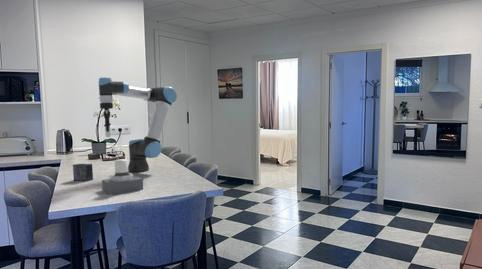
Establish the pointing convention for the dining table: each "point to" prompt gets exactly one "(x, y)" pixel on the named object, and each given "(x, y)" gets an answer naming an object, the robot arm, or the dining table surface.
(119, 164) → the white glossy rounded part
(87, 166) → the small box
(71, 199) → the dining table surface
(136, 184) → the octagonal socket base
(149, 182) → the dining table surface
